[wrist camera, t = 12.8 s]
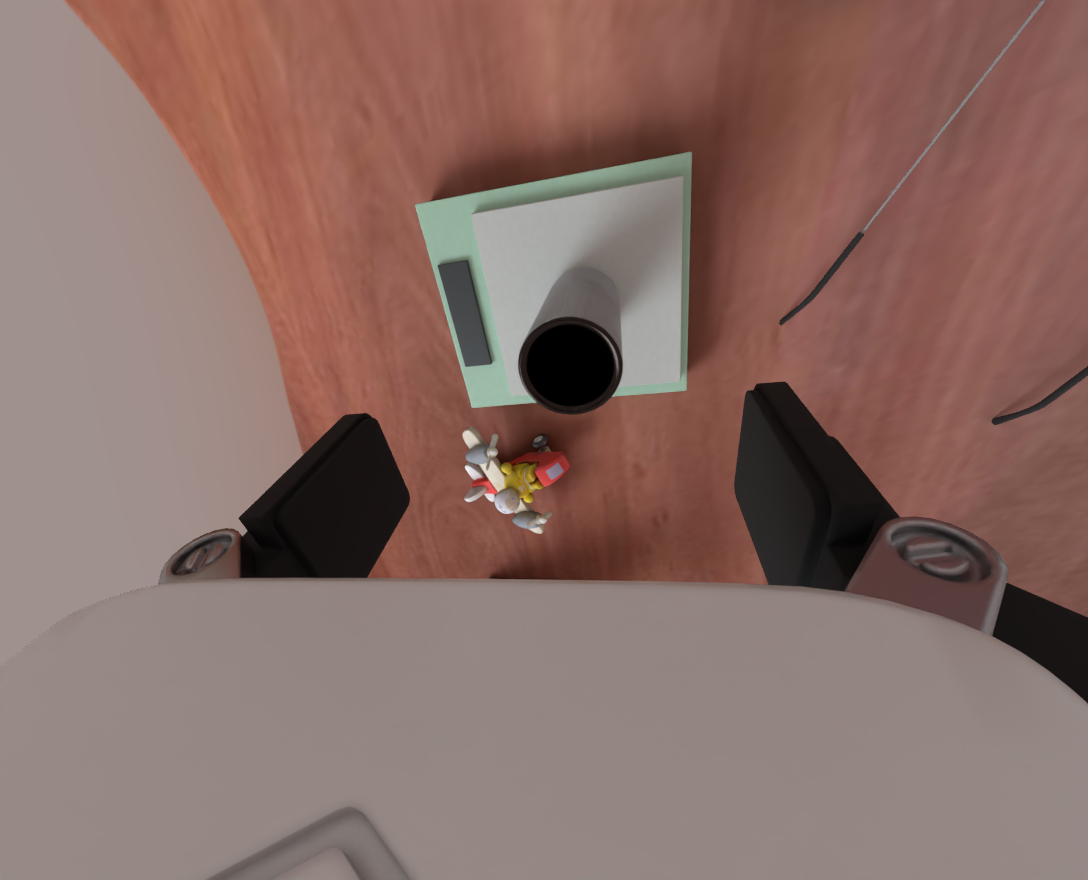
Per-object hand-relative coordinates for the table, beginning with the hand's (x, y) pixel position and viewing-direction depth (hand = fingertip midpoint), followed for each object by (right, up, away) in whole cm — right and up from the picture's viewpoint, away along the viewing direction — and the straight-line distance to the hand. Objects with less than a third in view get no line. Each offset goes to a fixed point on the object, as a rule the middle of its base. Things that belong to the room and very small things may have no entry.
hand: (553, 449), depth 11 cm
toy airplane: (-3, -2, +27) cm, 27 cm away
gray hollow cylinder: (+2, +9, +16) cm, 18 cm away
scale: (+1, +10, +18) cm, 21 cm away
